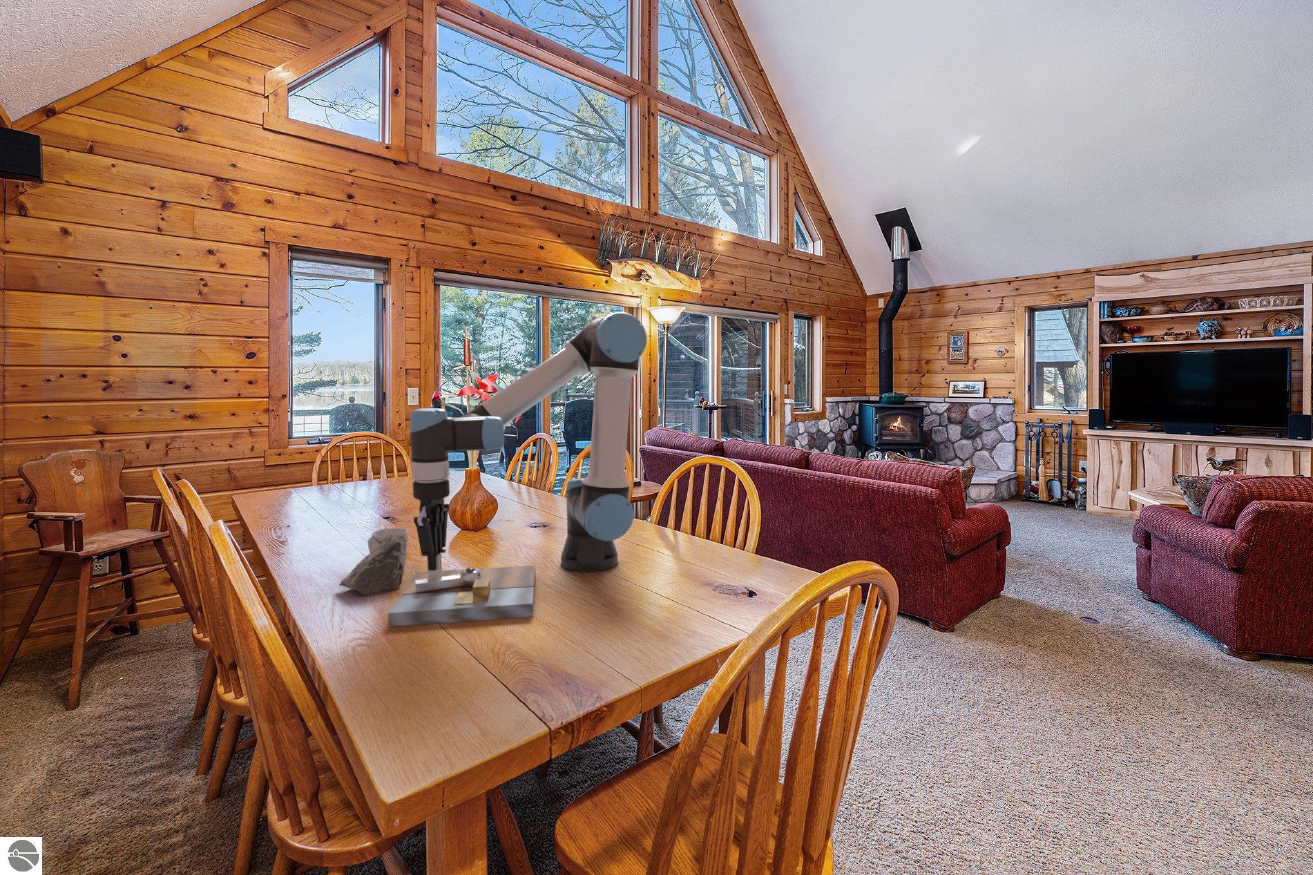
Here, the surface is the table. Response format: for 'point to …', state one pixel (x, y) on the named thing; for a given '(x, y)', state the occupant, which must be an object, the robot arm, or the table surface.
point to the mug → (381, 534)
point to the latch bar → (449, 580)
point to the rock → (378, 569)
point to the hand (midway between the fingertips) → (435, 582)
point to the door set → (468, 598)
